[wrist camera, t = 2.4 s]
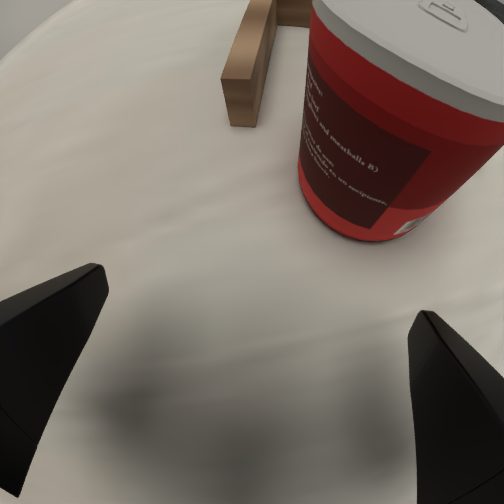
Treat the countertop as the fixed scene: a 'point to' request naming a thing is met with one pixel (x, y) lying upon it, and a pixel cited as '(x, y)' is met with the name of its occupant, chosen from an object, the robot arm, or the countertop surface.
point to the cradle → (256, 54)
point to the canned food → (397, 109)
